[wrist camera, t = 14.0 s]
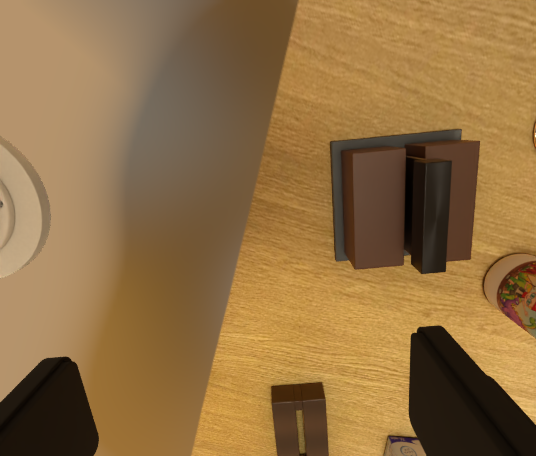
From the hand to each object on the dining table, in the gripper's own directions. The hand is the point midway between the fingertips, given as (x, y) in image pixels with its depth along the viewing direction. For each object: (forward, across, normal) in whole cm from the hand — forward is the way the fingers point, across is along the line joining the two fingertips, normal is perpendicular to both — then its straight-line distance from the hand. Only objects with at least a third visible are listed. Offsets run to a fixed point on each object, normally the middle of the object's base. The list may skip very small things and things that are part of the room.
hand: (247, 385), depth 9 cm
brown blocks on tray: (+30, -15, +2) cm, 34 cm away
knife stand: (+30, -2, +34) cm, 46 cm away
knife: (+30, -15, +2) cm, 33 cm away
